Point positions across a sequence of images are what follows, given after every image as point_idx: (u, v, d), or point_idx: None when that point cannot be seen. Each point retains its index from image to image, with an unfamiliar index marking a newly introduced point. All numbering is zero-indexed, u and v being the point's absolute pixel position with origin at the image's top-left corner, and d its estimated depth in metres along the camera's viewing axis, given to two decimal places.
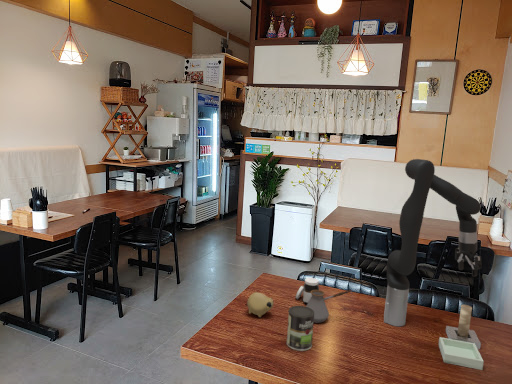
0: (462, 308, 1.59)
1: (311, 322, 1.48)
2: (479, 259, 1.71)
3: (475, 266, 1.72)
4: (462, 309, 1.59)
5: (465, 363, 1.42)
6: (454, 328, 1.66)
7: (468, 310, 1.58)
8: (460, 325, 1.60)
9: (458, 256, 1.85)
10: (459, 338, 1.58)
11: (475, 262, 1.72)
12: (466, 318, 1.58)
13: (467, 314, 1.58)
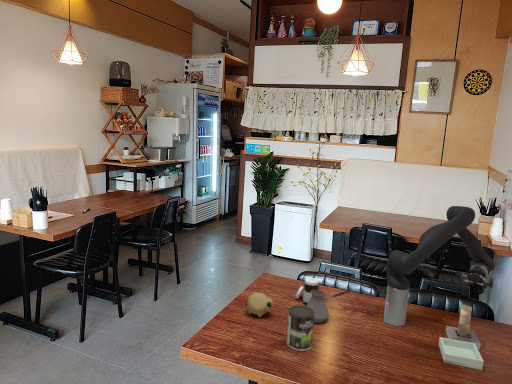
0: (462, 308, 1.59)
1: (311, 322, 1.48)
2: None
3: (490, 281, 1.68)
4: (462, 309, 1.59)
5: (465, 363, 1.42)
6: (454, 328, 1.66)
7: (468, 310, 1.58)
8: (460, 325, 1.60)
9: (457, 277, 1.76)
10: (459, 338, 1.58)
11: (491, 280, 1.70)
12: (466, 318, 1.58)
13: (467, 314, 1.58)
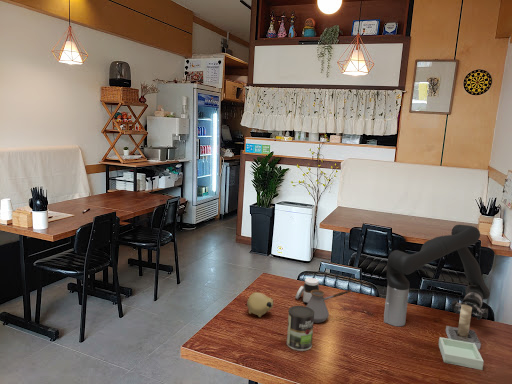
0: (462, 308, 1.59)
1: (311, 322, 1.48)
2: None
3: (485, 311, 1.67)
4: (462, 309, 1.59)
5: (465, 363, 1.42)
6: (454, 328, 1.66)
7: (468, 310, 1.58)
8: (460, 325, 1.60)
9: None
10: (459, 338, 1.58)
11: (485, 310, 1.68)
12: (466, 318, 1.58)
13: (467, 314, 1.58)
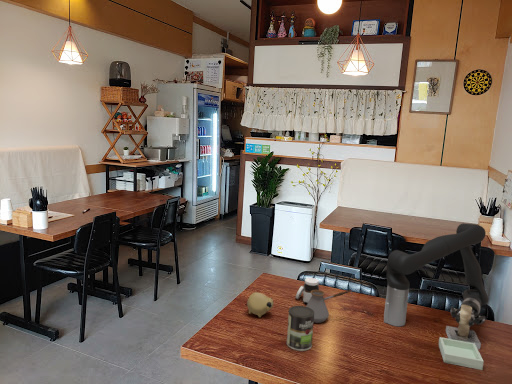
0: (462, 308, 1.59)
1: (311, 322, 1.48)
2: (483, 320, 1.61)
3: (478, 318, 1.60)
4: (462, 309, 1.59)
5: (465, 363, 1.42)
6: (454, 328, 1.66)
7: (468, 310, 1.58)
8: (460, 325, 1.60)
9: None
10: (459, 338, 1.58)
11: (480, 317, 1.61)
12: (466, 318, 1.58)
13: (468, 314, 1.58)
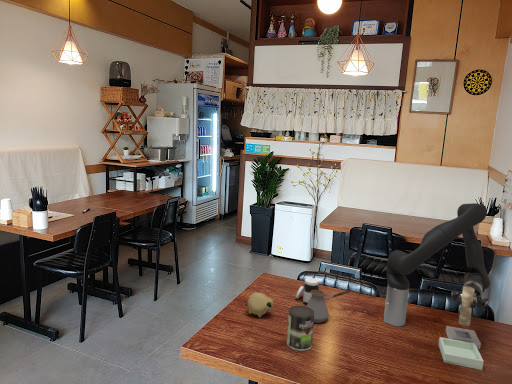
0: (464, 290, 1.51)
1: (311, 322, 1.48)
2: (486, 303, 1.53)
3: (481, 300, 1.51)
4: (464, 291, 1.51)
5: (465, 363, 1.42)
6: (454, 328, 1.66)
7: (470, 291, 1.49)
8: (462, 308, 1.52)
9: None
10: (459, 338, 1.58)
11: (483, 299, 1.52)
12: (468, 300, 1.50)
13: (470, 296, 1.49)
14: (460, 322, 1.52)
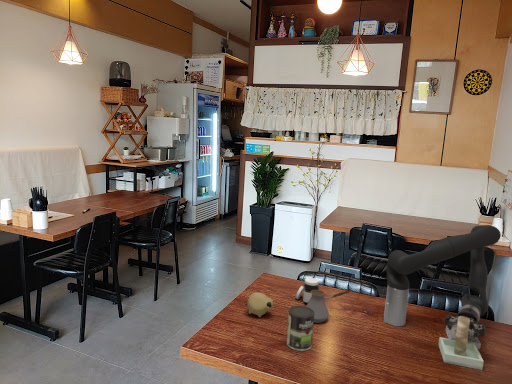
0: (459, 320, 1.46)
1: (311, 322, 1.48)
2: None
3: (482, 328, 1.46)
4: (459, 322, 1.46)
5: (465, 363, 1.42)
6: (454, 328, 1.66)
7: (465, 322, 1.45)
8: (457, 339, 1.47)
9: (445, 321, 1.54)
10: None
11: (483, 326, 1.48)
12: (463, 331, 1.45)
13: (465, 326, 1.45)
14: (455, 353, 1.48)
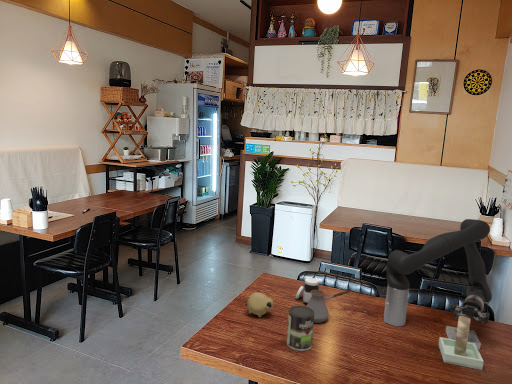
0: (460, 320, 1.46)
1: (311, 322, 1.48)
2: None
3: (486, 316, 1.57)
4: (459, 321, 1.46)
5: (465, 363, 1.42)
6: (454, 328, 1.66)
7: (466, 322, 1.45)
8: (457, 338, 1.47)
9: None
10: None
11: (487, 314, 1.58)
12: (464, 331, 1.45)
13: (466, 326, 1.45)
14: (455, 353, 1.48)
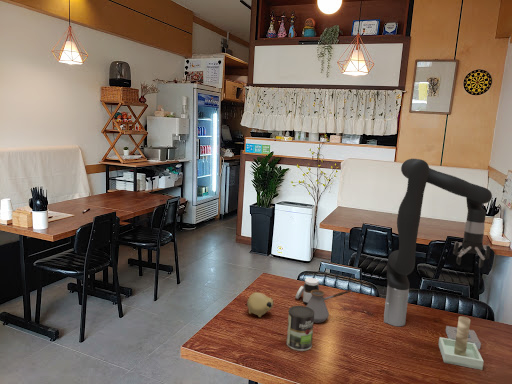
0: (460, 320, 1.46)
1: (311, 322, 1.48)
2: None
3: (487, 256, 1.68)
4: (459, 322, 1.46)
5: (465, 363, 1.42)
6: (454, 328, 1.66)
7: (466, 322, 1.44)
8: (457, 339, 1.47)
9: (453, 251, 1.74)
10: None
11: (487, 252, 1.68)
12: (464, 331, 1.45)
13: (466, 327, 1.45)
14: (455, 353, 1.48)
